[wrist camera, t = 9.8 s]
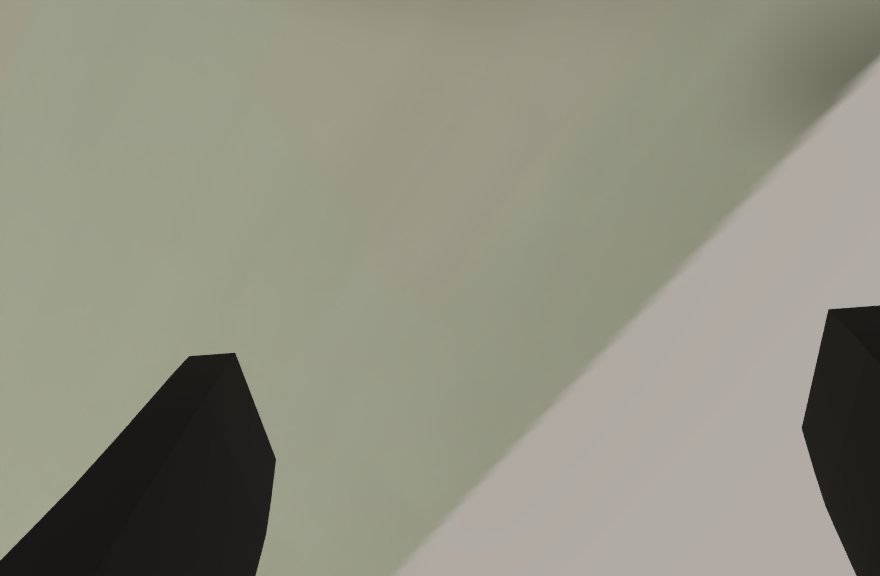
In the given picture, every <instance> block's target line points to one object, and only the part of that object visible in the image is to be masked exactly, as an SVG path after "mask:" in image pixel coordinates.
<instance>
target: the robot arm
mask: <svg viewBox="0 0 880 576" xmlns="http://www.w3.org/2000/svg"><path fill="white" fill-rule="evenodd" d="M802 431H803V434H804V438H805V441H806V444H807V448H808V451H809V455H810V458H811V461H812V465H813V468H814V472H815V475H816V478H817V481H818V484H819V487H820V490H821V493H822V497H823V500H824V502H825V506H826V508H827V510H828V513H829V515H830V517H831V520H832V522H833V524H834V526H835V529H836V531H837V533H838V535H839V538H840V540H841V542H842V544H843V546H844V549H845V551H846V553H847V555H848V558H849V560H850V562H851V564H852V567H853V569H854V571H855V573H856V575H857V576H880V306H868V307H856V308H843V309H842V308H841V309H829V310H828V314H827V319H826V323H825V327H824V332H823V337H822V341H821V346H820V350H819V355H818V359H817V363H816V367H815V372H814V376H813V381H812V385H811V390H810V394H809V399H808V403H807V408H806V412H805V417H804V421H803V425H802ZM275 463H276V458H275V456H274V453H273V450H272V448H271V445H270V443H269V440H268V437H267V435H266V432H265V430H264V427H263V424H262V422H261V419H260V417H259V414H258V411H257V409H256V406H255V404H254V401H253V398H252V396H251V393H250V390H249V388H248V385H247V383H246V380H245V377H244V375H243V372H242V370H241V367H240V364H239V362H238V359H237V357H236V354H235V353H228V354H214V355H200V356H189V357H188V358H187V359H186V360H185V361H184V362H183V363H182V365H181V366H180V367H179V368H178V369H177V370H176V371H175V372H174V373H173V374H172V375H171V377H170V378H169V379H168V380H167V381H166V382H165V383H164V385H163V386H162V387H161V388H160V389H159V390H158V391H157V393H156V394H155V395H154V396H153V397H152V398H151V399H150V401H149V402H148V403H147V404H146V405H145V406H144V407H143V409H142V410H141V411H140V412H139V413H138V414H137V415H136V417H135V418H134V419H133V420H132V421H131V422H130V423H129V425H128V426H127V427H126V428H125V429H124V430H123V431H122V433H121V434H120V435H119V436H118V437H117V438H116V439H115V440H114V441H113V443H112V444H111V445H110V446H109V447H108V448H107V449H106V450H105V451H104V453H103V454H102V455H101V456H100V457H99V458H98V459H97V460H96V461H95V463H94V464H93V465H92V466H91V467H90V468H89V469H88V470H87V471H86V472H85V474H84V475H83V476H82V477H81V478H80V479H79V480H78V481H77V482H76V484H75V485H74V486H73V487H72V488H71V489H70V490H69V491H68V492H67V493H66V494H65V495H64V496H63V497H62V498H61V499H60V500H59V501H58V502H57V503H56V504H55V505H54V506H53V507H52V508H51V509H50V510H49V511H48V513H47V514H46V515H45V516H44V517H43V518H42V519H41V520H40V521H39V522H38V523H37V524H36V525H35V526H34V527H33V528H32V529H31V530H30V531H29V532H28V533H27V534H26V535H25V536H24V537H23V538H22V539H21V540H20V541H19V542H18V543H17V544H16V545H15V546H14V547H13V548H12V549H11V550H10V551H9V552H8V553H7V554H6V555H5V556H4V557H3V559H2V560H0V576H255V575H256V571H257V568H258V564H259V560H260V556H261V552H262V548H263V544H264V540H265V536H266V531H267V524H268V517H269V510H270V504H271V496H272V488H273V479H274V471H275Z"/></svg>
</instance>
